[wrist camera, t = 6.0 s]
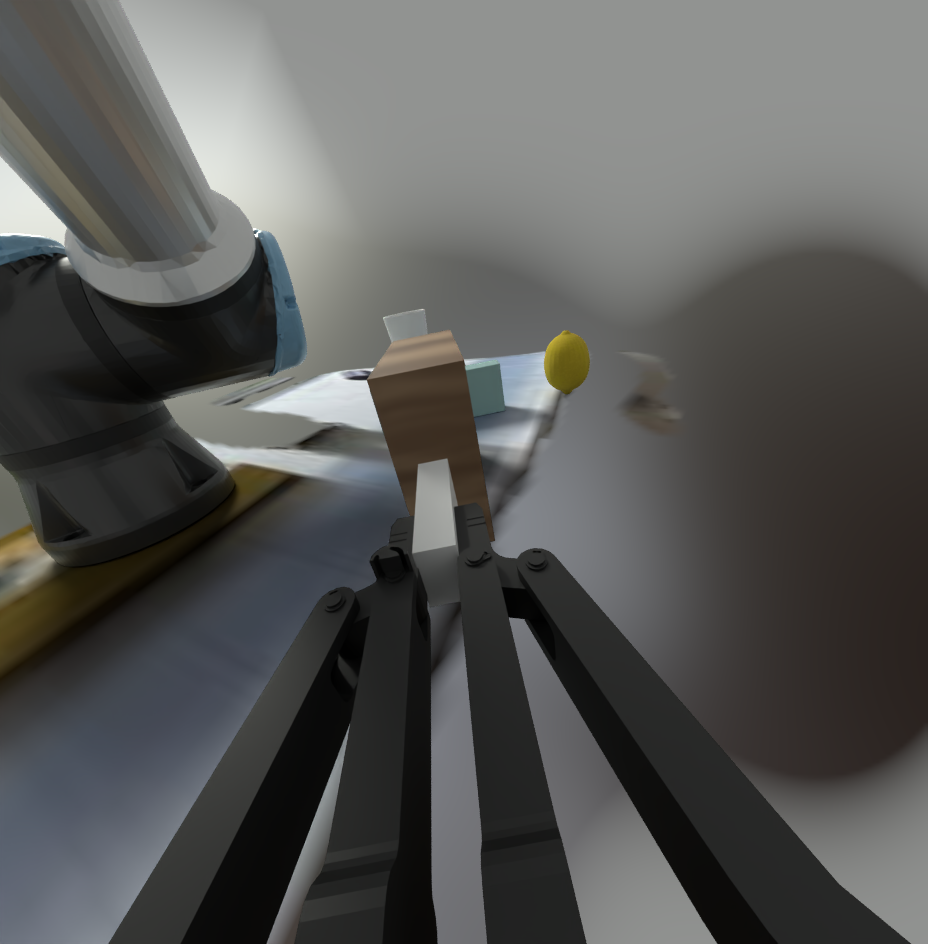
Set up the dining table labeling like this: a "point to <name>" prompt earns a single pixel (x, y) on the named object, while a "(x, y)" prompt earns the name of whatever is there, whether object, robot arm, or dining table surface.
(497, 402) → the rail
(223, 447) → the dining table surface
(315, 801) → the robot arm
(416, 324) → the cup
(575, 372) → the lemon
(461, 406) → the slab
